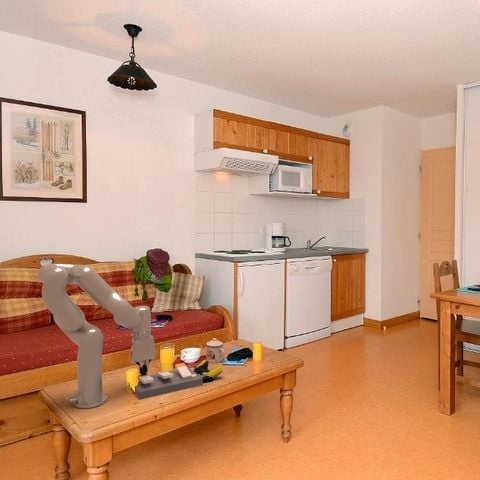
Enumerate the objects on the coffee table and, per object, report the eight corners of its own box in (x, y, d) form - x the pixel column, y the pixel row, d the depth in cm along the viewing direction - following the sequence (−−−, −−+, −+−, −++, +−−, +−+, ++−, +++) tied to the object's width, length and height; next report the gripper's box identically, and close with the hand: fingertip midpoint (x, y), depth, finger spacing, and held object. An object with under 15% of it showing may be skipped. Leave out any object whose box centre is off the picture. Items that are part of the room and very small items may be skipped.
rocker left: (143, 383, 172) (143, 380, 172) (136, 378, 181) (136, 375, 181) (153, 381, 175) (153, 378, 175) (146, 376, 183) (146, 373, 183)
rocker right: (182, 379, 182) (183, 376, 182) (174, 366, 190) (175, 364, 190) (191, 377, 184) (192, 374, 184) (183, 365, 192) (183, 362, 192)
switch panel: (139, 399, 169) (139, 390, 168) (128, 385, 182) (128, 377, 182) (202, 384, 183) (202, 376, 183) (188, 373, 197) (188, 365, 197)
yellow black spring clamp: (206, 369, 203) (189, 374, 197) (206, 358, 203) (189, 363, 196) (224, 378, 191) (206, 383, 185) (224, 366, 191) (206, 371, 185)
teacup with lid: (202, 360, 216) (202, 338, 215) (215, 356, 223) (215, 335, 222) (217, 365, 208) (217, 343, 207) (230, 361, 214) (230, 339, 214)
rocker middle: (163, 378, 177) (163, 375, 177) (156, 375, 186) (156, 372, 186) (173, 376, 179) (173, 373, 179) (165, 373, 188) (165, 370, 188)
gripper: (127, 339, 174) (129, 381, 175) (161, 333, 182) (162, 373, 183) (123, 334, 180) (124, 375, 181) (155, 329, 188) (156, 368, 189)
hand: (143, 374), depth 182 cm, fingers closed
